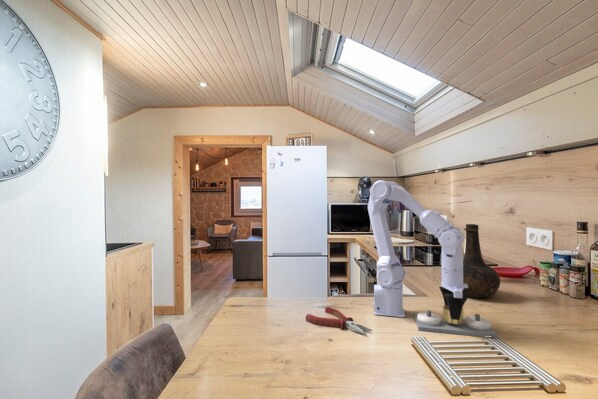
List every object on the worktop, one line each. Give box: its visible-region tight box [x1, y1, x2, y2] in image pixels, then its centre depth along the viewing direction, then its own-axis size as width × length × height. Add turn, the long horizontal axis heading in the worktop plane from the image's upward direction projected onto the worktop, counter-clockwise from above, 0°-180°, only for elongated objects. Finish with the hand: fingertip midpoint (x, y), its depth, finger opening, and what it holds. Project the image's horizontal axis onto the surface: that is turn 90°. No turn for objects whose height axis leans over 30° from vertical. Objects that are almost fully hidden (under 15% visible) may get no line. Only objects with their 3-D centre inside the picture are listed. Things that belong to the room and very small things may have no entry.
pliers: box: [305, 306, 373, 335], centre depth 91 cm, size 12×20×3 cm, turn 44°
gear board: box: [414, 309, 499, 339], centre depth 89 cm, size 20×10×4 cm, turn 75°
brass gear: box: [441, 304, 465, 324], centre depth 89 cm, size 5×5×4 cm
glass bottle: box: [462, 223, 501, 299], centre depth 120 cm, size 18×18×28 cm
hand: (452, 315), depth 89 cm, fingers closed on brass gear, 5 cm apart
